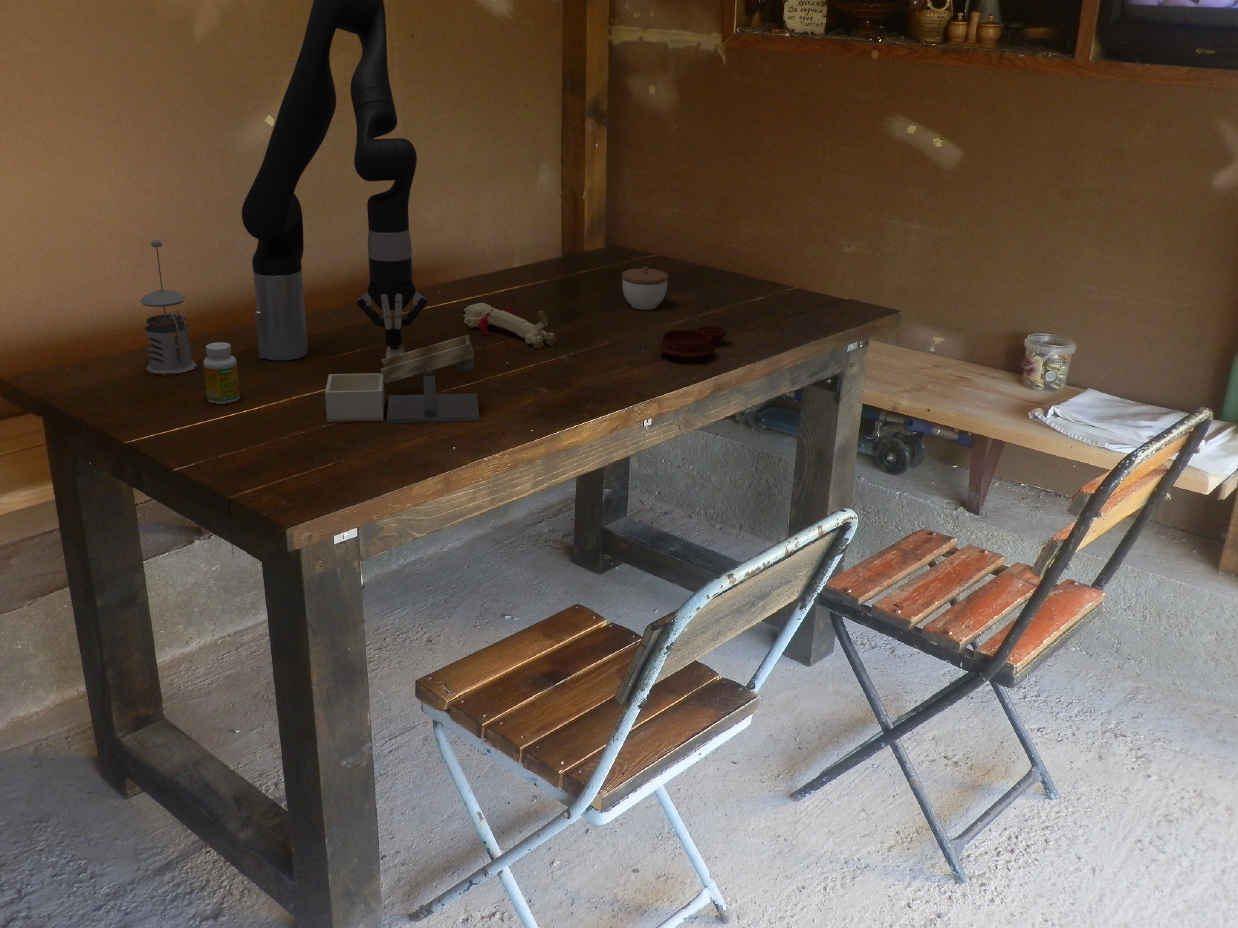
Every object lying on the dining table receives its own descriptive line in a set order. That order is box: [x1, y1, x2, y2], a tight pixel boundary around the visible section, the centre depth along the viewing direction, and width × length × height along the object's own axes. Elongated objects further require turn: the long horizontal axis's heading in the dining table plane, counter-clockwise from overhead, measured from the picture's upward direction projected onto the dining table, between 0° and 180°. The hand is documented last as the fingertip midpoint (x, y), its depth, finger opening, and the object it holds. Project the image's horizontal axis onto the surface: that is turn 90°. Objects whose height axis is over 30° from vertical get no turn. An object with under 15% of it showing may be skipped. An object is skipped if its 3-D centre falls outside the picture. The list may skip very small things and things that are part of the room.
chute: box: [380, 334, 475, 384], centre depth 216 cm, size 16×15×4 cm
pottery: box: [657, 325, 728, 362], centre depth 252 cm, size 12×20×4 cm, turn 148°
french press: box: [139, 239, 198, 374], centre depth 228 cm, size 10×12×25 cm
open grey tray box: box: [324, 372, 386, 423], centre depth 213 cm, size 10×10×6 cm
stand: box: [386, 369, 480, 424], centre depth 215 cm, size 16×12×8 cm
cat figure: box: [462, 302, 557, 350], centre depth 258 cm, size 10×9×25 cm
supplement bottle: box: [203, 342, 241, 405], centre depth 216 cm, size 6×6×10 cm
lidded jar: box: [621, 266, 669, 311], centre depth 281 cm, size 11×11×9 cm
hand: (394, 347), depth 220 cm, fingers closed
